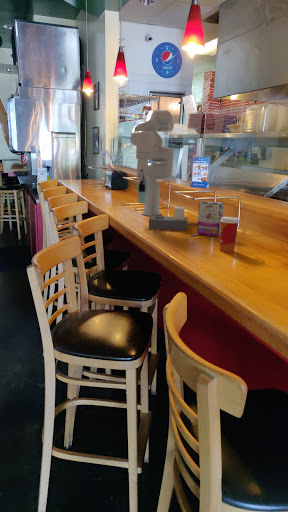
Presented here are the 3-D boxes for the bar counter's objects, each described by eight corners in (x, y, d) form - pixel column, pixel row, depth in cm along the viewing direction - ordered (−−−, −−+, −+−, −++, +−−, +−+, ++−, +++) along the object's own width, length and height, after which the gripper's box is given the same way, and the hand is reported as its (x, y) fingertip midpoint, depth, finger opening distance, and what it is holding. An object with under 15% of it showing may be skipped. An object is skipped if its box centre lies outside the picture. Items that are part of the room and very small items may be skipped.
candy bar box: (221, 235, 183) (224, 202, 178) (218, 237, 178) (221, 203, 174) (200, 232, 188) (202, 200, 183) (196, 234, 183) (198, 201, 179)
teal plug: (138, 201, 202) (138, 180, 199) (147, 202, 202) (147, 181, 199) (136, 203, 198) (137, 181, 194) (146, 203, 197) (146, 181, 194)
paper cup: (222, 247, 160) (225, 215, 156) (239, 250, 155) (242, 218, 151) (213, 251, 154) (216, 218, 150) (230, 254, 149) (233, 220, 145)
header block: (150, 224, 203) (151, 205, 199) (187, 226, 200) (188, 206, 197) (148, 228, 193) (149, 207, 190) (187, 230, 191) (188, 209, 188)
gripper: (138, 155, 201) (137, 189, 206) (133, 156, 185) (133, 192, 190) (152, 156, 200) (151, 189, 206) (148, 156, 184) (147, 193, 189)
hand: (142, 190), depth 198 cm, fingers closed on teal plug, 5 cm apart
